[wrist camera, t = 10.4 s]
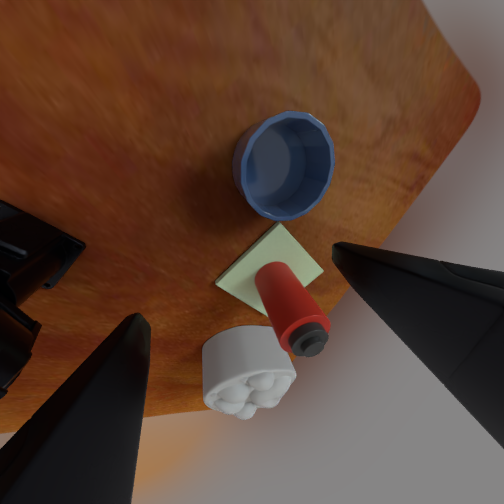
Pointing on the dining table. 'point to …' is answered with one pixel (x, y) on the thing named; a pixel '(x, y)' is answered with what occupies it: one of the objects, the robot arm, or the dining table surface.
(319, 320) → the bottle
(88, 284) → the dining table surface
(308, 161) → the cup
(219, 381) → the lumpy-topped squat cylinder
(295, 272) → the tile
